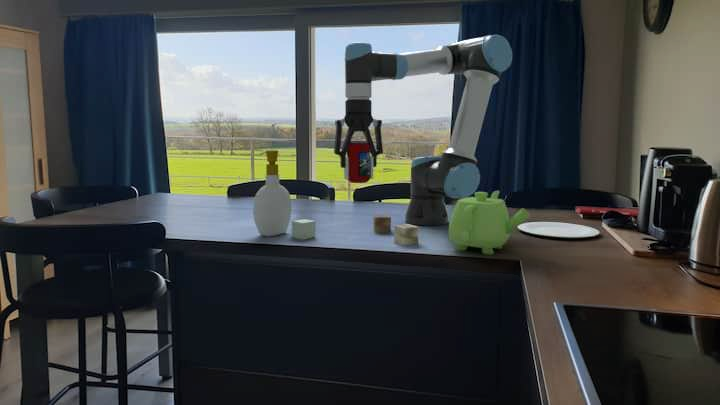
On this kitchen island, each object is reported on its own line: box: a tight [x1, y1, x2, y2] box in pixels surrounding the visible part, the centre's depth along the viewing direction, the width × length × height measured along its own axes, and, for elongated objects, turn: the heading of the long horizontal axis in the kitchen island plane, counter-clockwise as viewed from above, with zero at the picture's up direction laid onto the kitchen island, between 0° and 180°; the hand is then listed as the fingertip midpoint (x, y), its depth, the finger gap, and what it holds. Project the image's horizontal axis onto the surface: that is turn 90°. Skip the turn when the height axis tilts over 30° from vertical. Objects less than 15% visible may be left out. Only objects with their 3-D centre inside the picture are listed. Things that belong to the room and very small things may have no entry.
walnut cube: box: [373, 214, 392, 234], centre depth 173 cm, size 5×5×5 cm
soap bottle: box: [253, 149, 292, 238], centre depth 165 cm, size 14×9×26 cm, turn 146°
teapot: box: [448, 190, 531, 255], centre depth 149 cm, size 25×22×16 cm
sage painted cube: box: [291, 218, 316, 240], centre depth 163 cm, size 5×5×5 cm
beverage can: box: [346, 140, 371, 184], centre depth 157 cm, size 7×7×12 cm
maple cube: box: [393, 223, 420, 246], centre depth 156 cm, size 5×5×5 cm
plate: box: [517, 221, 601, 240], centre depth 173 cm, size 25×25×2 cm
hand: (358, 178), depth 157 cm, fingers closed on beverage can, 7 cm apart
